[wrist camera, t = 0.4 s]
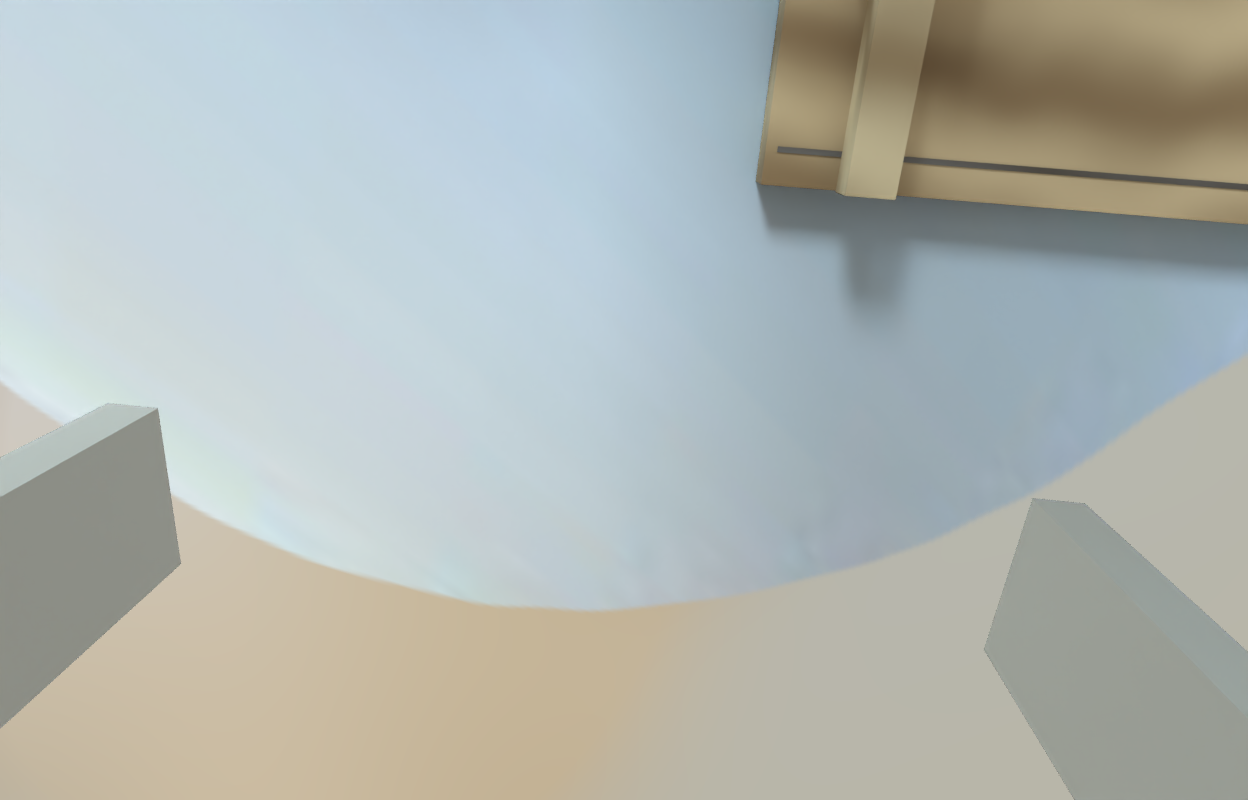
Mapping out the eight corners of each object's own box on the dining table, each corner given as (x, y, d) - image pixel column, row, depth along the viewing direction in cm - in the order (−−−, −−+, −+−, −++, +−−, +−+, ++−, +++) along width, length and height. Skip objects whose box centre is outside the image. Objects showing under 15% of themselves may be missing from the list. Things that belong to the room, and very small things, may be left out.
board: (788, -69, 31) (797, -82, 29) (1378, -26, 30) (1427, -36, 28) (755, 181, 34) (761, 184, 32) (1283, 224, 34) (1321, 230, 32)
